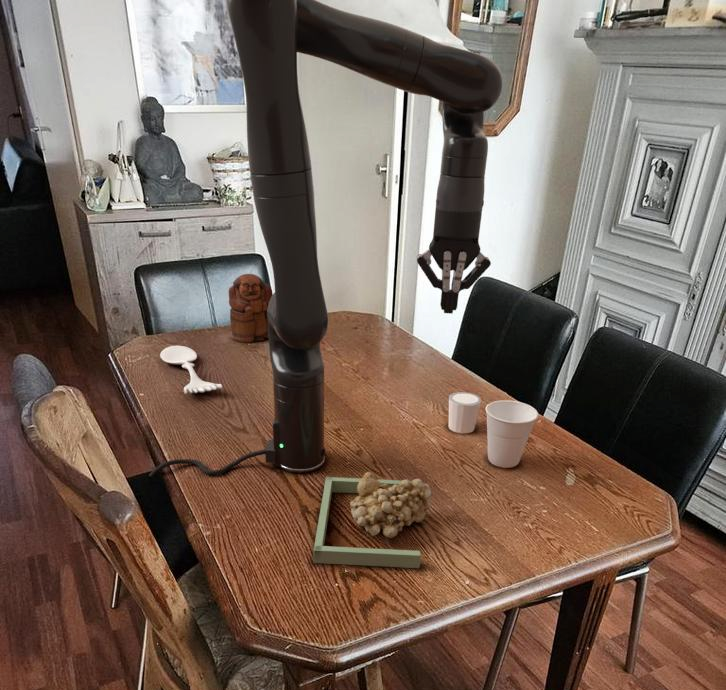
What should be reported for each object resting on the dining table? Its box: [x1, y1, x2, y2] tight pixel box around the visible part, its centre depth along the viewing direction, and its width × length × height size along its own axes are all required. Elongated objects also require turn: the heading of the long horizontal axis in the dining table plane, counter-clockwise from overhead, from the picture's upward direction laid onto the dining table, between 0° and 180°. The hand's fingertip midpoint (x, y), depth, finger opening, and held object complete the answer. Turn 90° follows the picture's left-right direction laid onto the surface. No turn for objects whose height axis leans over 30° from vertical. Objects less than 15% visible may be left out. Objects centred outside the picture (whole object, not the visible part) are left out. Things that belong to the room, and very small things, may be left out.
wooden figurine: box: [228, 273, 273, 343], centre depth 176 cm, size 12×6×18 cm, turn 115°
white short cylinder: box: [447, 391, 482, 435], centre depth 135 cm, size 7×7×7 cm
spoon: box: [159, 345, 223, 395], centre depth 155 cm, size 9×32×4 cm, turn 26°
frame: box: [313, 476, 422, 569], centre depth 104 cm, size 16×21×2 cm
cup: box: [485, 399, 539, 469], centre depth 122 cm, size 10×10×11 cm
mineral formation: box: [349, 471, 433, 539], centre depth 103 cm, size 8×13×15 cm
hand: (447, 312), depth 111 cm, fingers closed
